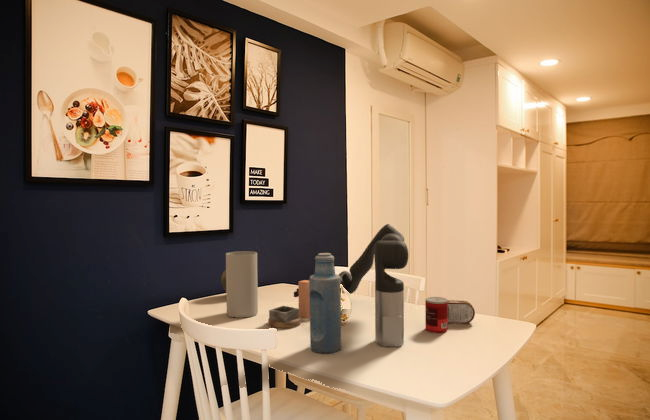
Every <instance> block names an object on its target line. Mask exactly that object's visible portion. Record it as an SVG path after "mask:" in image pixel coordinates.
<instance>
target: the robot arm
mask: <svg viewBox="0 0 650 420" xmlns="http://www.w3.org/2000/svg"><path fill="white" fill-rule="evenodd" d="M408 249H409V248H408V246H407V244H406V242H405V237H404V235H403V234H402V233H401V232H400V231H398V230H397V229H396V228H395V227H393V226H392V225H391V224H389V223H387V224H385V225H383V226H382V227H381V228H380V229H379V230H378V232H377V233H376V234H375V236H374V237H373V238H372V239H371V241H370V242H369V243H368V245H367V247H366V248H365V249H364V250H363V252H362V253H361V255H360V256H359V258H358V259H356V261H355V262H354V263H353V264H351V266H350V268H349V271H347V270H346V271H345V270H343V271H341V272H339V274H338V275H339V276H340V284H342V285H343V287H344V288H345V289H346V290H347V291H348V292H349V293H350V294H349V295H351V294H353V293H355V292H356V291H357V289H358V288H359V285H360V283H361V281H362V280H363V278H364V277H365V276H366V274H367V273H368V272H369V271H370V270H371V269H372V266H373V264H374V270H375V271H374V276H375V279H374V281H375V282H374V285H375V286H374V287H375V288H374V294H375V295H374V303H375V304H374V307H375V309H374V310H375V312H374V313H375V314H374V323H375V324H374V331H375V332H374V334H375V339H374V340H375V343H376V344H378V345H379V346H381V347H402V346H403V345H404V343H405V342H404V341H405V337H404V336H405V327H404V325H405V324H404V323H405V321H404V319H405V316H404V315H405V314H404V313H405V311H404V310H405V309H404V308H405V306H404V305H405V303H404V302H405V293H404V292H405V289H404V281H403V280H401V279H399V278H396V277H394V276H392V275H390V274H388V273H387V272H386V271H385V270H401V269H404V268H405V267H407V265H408V263H409V250H408ZM293 297H294V298H299V287H298V288H296V290H295V291H294V292H293Z"/></svg>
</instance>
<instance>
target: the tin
mask: <svg viewBox="0 0 650 420" xmlns="http://www.w3.org/2000/svg"><path fill="white" fill-rule="evenodd" d="M447 300H448V324H453V323H456V324H457V323H458V324H459V323H460V324H459V325H462V324H463V325H464V324H465V325H466V324H470V323H471V322H472V321H473V320H474V318H475V315H476V311H475V309H474V306H473V305H472V304H471V303H470V302H469V301H467V300H453V299H451V300H450V299H447ZM458 324H457V325H458Z"/></svg>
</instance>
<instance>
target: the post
mask: <svg viewBox="0 0 650 420" xmlns="http://www.w3.org/2000/svg"><path fill="white" fill-rule="evenodd" d="M309 281H310V280H309V279H307V280H306V279H304V280H300V281H298V285H297V286H298V288H299V297H298V309H299V317H300V318H304V319H308V318H310V288H309Z"/></svg>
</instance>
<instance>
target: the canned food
mask: <svg viewBox="0 0 650 420" xmlns="http://www.w3.org/2000/svg"><path fill="white" fill-rule="evenodd" d="M448 300H449V299H447V298H445V297H442V296H429V297H425V306H424V307H425V308H424V309H425V316H424V317H425V330H426V331H427V332H429V333H434V334H443V333H446V332H447V331H448V328H449V327H448V325H449V323H448Z"/></svg>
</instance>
